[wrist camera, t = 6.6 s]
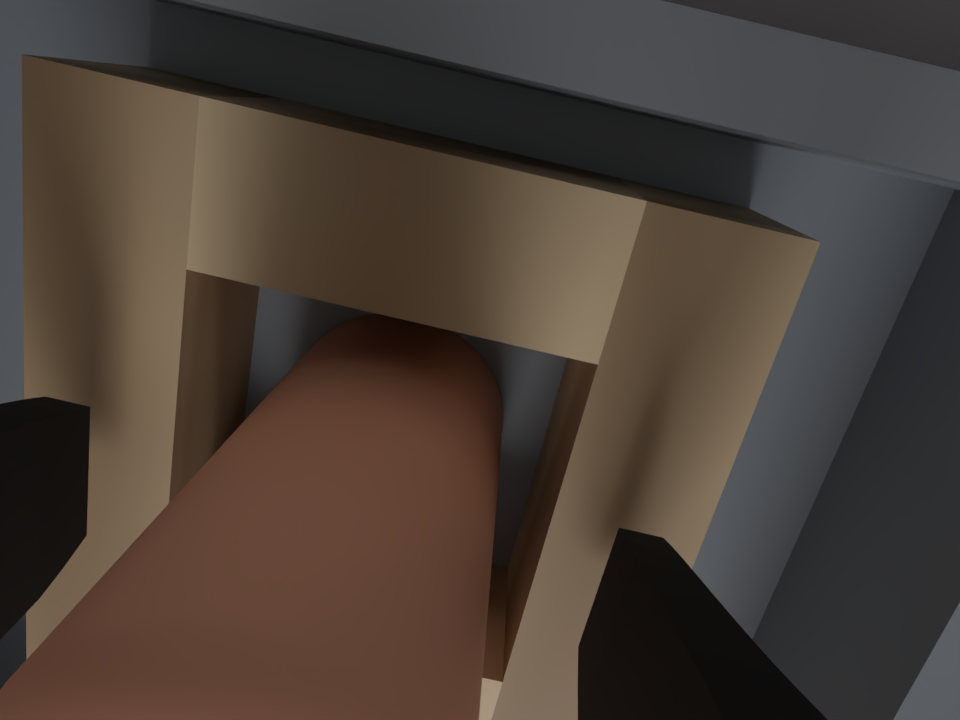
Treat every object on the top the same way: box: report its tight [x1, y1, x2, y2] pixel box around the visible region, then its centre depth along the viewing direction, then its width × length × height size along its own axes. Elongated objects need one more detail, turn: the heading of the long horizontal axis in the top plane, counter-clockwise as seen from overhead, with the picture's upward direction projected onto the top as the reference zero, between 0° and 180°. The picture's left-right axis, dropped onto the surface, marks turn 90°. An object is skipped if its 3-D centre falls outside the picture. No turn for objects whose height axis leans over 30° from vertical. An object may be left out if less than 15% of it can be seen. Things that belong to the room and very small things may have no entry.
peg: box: [0, 314, 503, 720], centre depth 9 cm, size 4×4×8 cm
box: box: [0, 0, 960, 720], centre depth 12 cm, size 18×18×4 cm
